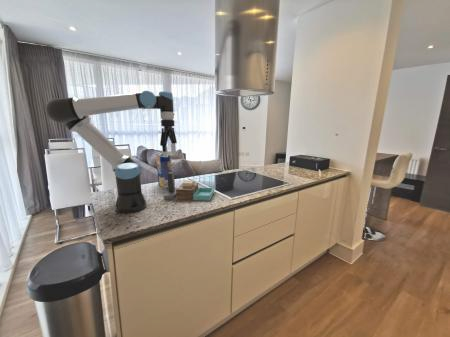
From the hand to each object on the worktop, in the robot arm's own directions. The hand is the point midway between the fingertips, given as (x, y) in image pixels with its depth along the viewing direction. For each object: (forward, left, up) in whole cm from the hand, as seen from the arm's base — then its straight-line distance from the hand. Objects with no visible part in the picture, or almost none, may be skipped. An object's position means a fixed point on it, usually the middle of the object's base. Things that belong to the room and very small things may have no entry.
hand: (169, 155), depth 127 cm
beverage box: (+20, +13, -26) cm, 35 cm away
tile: (0, -11, -19) cm, 22 cm away
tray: (0, -21, -25) cm, 33 cm away
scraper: (0, -1, -26) cm, 26 cm away
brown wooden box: (0, -10, -25) cm, 27 cm away
